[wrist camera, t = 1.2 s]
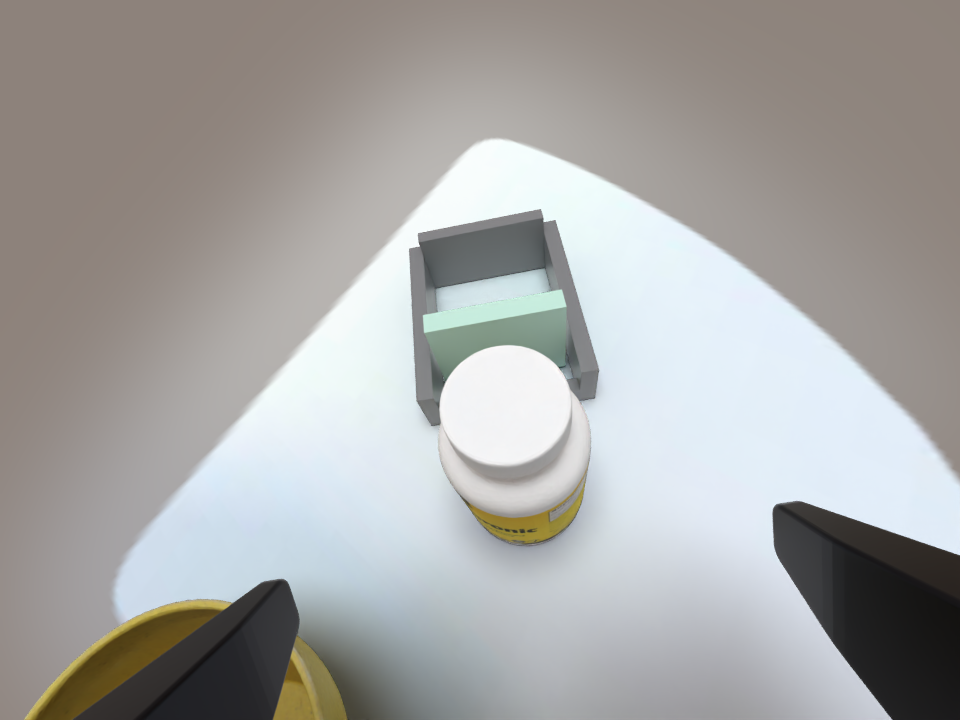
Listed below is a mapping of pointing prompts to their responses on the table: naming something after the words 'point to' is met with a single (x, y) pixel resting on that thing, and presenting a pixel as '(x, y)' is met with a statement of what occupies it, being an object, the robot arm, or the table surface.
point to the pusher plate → (499, 328)
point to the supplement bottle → (514, 443)
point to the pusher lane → (485, 256)
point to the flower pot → (136, 643)
